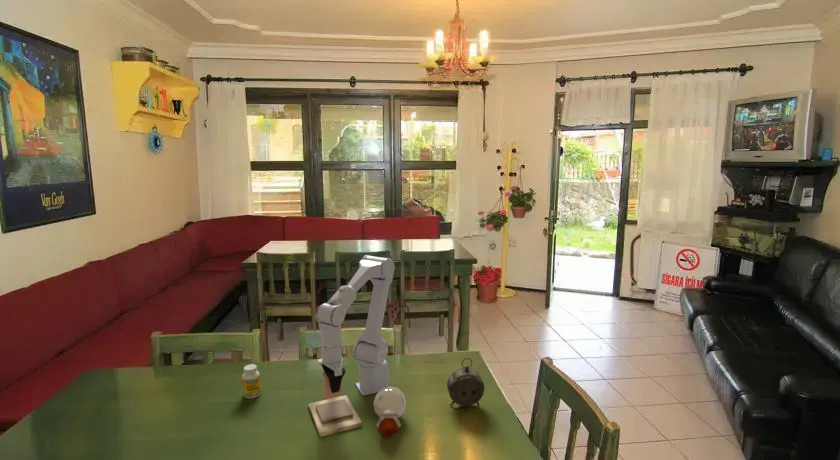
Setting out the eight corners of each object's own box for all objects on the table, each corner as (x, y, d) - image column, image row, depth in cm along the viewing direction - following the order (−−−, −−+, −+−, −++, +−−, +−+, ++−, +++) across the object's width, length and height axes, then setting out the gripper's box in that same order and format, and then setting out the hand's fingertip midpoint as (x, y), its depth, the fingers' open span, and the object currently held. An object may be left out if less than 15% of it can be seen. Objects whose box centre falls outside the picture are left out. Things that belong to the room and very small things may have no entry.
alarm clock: (481, 401, 146) (482, 353, 143) (485, 411, 141) (486, 361, 138) (446, 403, 145) (447, 354, 142) (449, 413, 140) (450, 363, 137)
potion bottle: (394, 410, 143) (393, 447, 129) (368, 395, 141) (364, 430, 127) (412, 390, 141) (412, 424, 127) (385, 374, 139) (383, 407, 125)
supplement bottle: (258, 388, 154) (256, 361, 152) (263, 395, 149) (261, 368, 147) (241, 393, 151) (239, 365, 149) (245, 400, 146) (243, 372, 145)
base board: (346, 398, 148) (346, 392, 147) (361, 426, 133) (361, 419, 133) (308, 407, 143) (308, 400, 142) (320, 436, 128) (319, 429, 128)
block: (338, 388, 139) (337, 370, 138) (341, 395, 135) (340, 377, 134) (323, 391, 138) (322, 373, 137) (326, 399, 134) (325, 380, 132)
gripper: (312, 337, 139) (314, 379, 141) (323, 357, 126) (325, 403, 128) (335, 333, 141) (337, 374, 144) (348, 352, 129) (350, 397, 131)
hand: (333, 387), depth 136 cm, fingers closed on block, 5 cm apart
